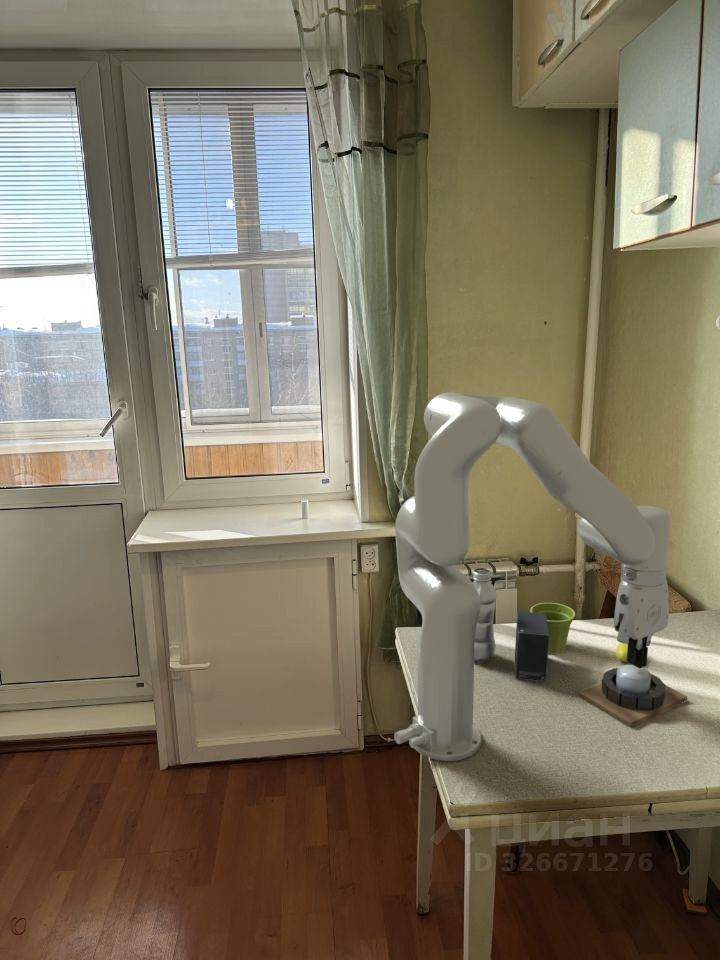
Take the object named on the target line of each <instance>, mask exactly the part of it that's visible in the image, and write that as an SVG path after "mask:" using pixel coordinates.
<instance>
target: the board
mask: <svg viewBox="0 0 720 960" xmlns="http://www.w3.org/2000/svg"><path fill="white" fill-rule="evenodd" d="M615 686H616V685H615ZM665 686H666V689H665V698H664V703H663V705H662V706H661V707H658V708H656V709H654V710H645V711H637V709H636V710H632V709H628V708H624V707H621V705H620V706H618V705H616V704H614V703H613V702H611V701H609V700H607V699H606V697H605V696H604V694H603V693H602V690H601V689H602V682H599V683H597V684H594V685H592V686H590V687H587V688H585V689H583V690H581V691H578V697H579V698H580V699H582V700H584V702H585V701H586V702H587V703H589V704H590V705H592V706H594V707H595V708H597V709H598V710H599V711H601V712H604V714H607V715H609V717H612V718H614V719H615V720H616V721H618V722H620V723H622V724H624V725H625V726H627V727H629V728H630V729H631V728H633V727H635V726H637V725H640V724H641V723H644V722H646V721H648V720H650V719H652V718H654V717H656V716H659V715H660V714H663V713H665V712H667V711H669V710H671V709H673V708H675V707H678V706H679V705H681V703H682V702H684V701H686V700H687V701H688V695H685V694H683V693H682V692H680V691H678V690H676V689H674V688H673V687H670V686H668V685H666V684H665ZM650 692H651V691H650ZM687 701H686V702H687ZM684 703H685V702H684ZM678 704H679V705H678ZM682 704H683V703H682Z"/></svg>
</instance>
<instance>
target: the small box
mask: <svg viewBox="0 0 720 960" xmlns="http://www.w3.org/2000/svg"><path fill="white" fill-rule="evenodd" d="M548 646H549V633H548V626H547V618H546V614H544V613H533V612H530V611H521V610H517V611H516V632H515V647H514V675H515V676H514V678H515V680H528V681H535V682H536V681H537V682H546V681H547V672H548V660H549V659H548V658H549V653H548Z"/></svg>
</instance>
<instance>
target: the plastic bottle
mask: <svg viewBox="0 0 720 960" xmlns="http://www.w3.org/2000/svg"><path fill="white" fill-rule="evenodd" d="M491 571H492V570H491V569H490V568H488V567H476V568H474V569H473V572H472V574H473V575H472V580H473V581H472V583H473V584H474V586H475V587H476V589H477V591H478V594H479V597H480V614H479V618H478V622H477V627H476V633H475V644H474V662H487V661H490V660H491V659H492V658H493V657H494V656H495V652H496V641H495V631H494V618H495V608H496V603H497V598H498V597H497V596H498V594H497V590H496V588H495V587H494V585H493V583H492V582H491V580H492V577H491V574H492V572H491Z"/></svg>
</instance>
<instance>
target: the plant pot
mask: <svg viewBox="0 0 720 960" xmlns="http://www.w3.org/2000/svg"><path fill="white" fill-rule="evenodd" d="M529 612H533V613H544V614H546V618H547V626H548V633H549V646H548V654H551V655H552V654H556V655H557V654H559V653H560V652H564V651H565V649H566V646H567V642H568V636H569V631H570V629H571V624H572V623H573V619H575V617H576V612H575V610H573V608H571V607H570V606H568V605H565V604H562V603H556V602H541V603H540V602H539V603H537V604H535V605H533V606H532V607H530V609H529Z"/></svg>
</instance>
